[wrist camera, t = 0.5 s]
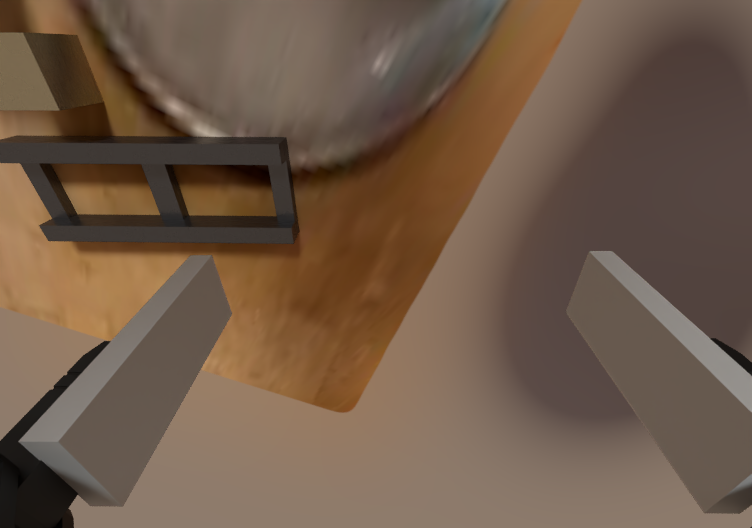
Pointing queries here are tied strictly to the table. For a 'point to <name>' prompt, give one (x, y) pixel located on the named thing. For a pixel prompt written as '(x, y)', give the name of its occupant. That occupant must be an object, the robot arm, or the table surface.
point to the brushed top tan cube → (45, 73)
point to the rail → (156, 187)
